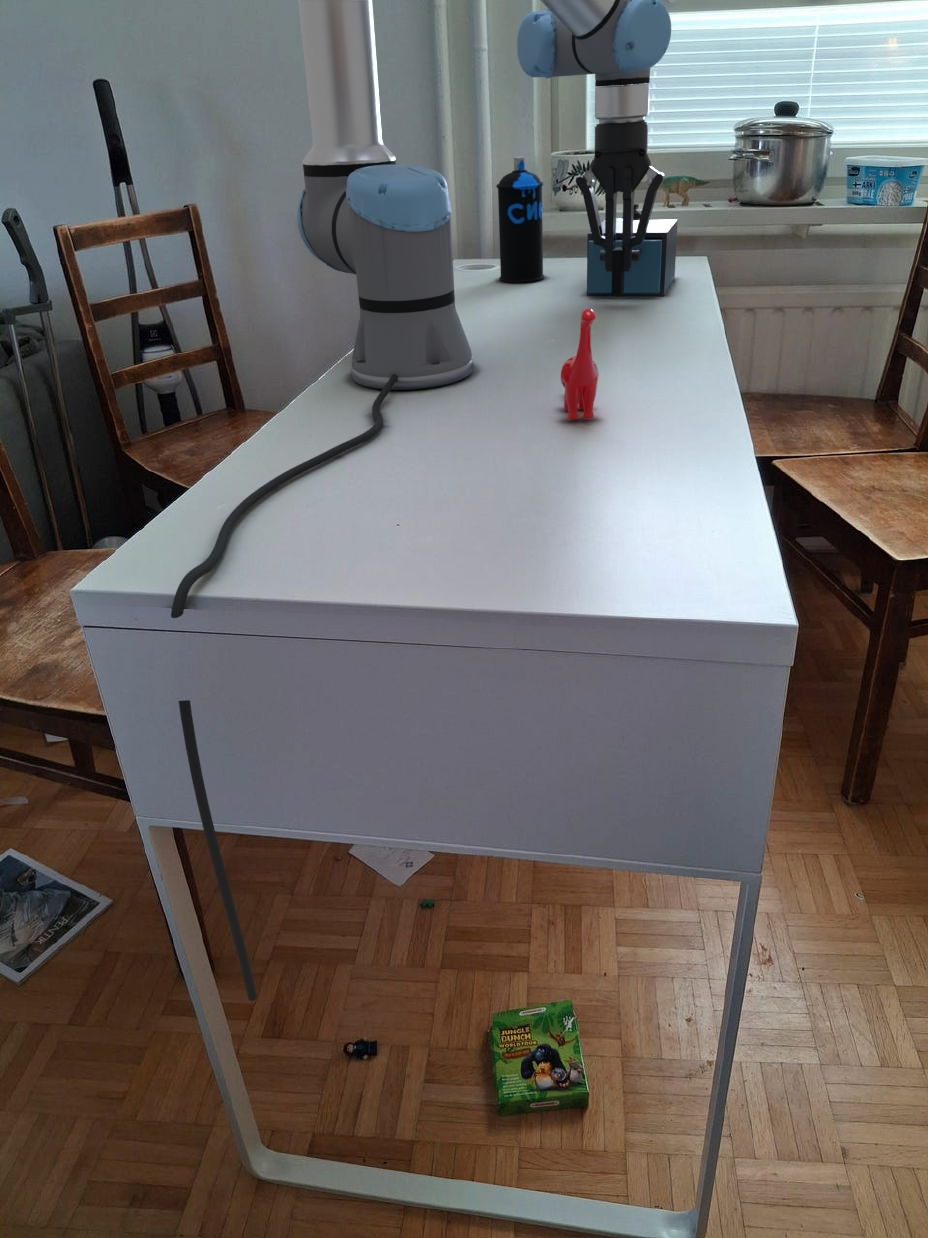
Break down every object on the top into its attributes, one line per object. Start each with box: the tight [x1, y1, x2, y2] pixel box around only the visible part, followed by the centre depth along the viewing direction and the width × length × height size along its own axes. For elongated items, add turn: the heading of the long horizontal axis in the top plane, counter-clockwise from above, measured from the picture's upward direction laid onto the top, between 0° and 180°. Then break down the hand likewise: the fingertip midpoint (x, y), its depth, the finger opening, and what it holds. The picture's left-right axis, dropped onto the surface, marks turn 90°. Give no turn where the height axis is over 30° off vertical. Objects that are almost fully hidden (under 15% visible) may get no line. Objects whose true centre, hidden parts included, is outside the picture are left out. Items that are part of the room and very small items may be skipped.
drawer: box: [588, 238, 662, 293], centre depth 151 cm, size 18×11×8 cm, turn 163°
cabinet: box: [586, 218, 679, 297], centre depth 156 cm, size 15×13×10 cm
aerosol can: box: [495, 156, 545, 284], centre depth 165 cm, size 8×8×20 cm
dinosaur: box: [560, 308, 599, 421], centre depth 96 cm, size 4×15×12 cm, turn 1°
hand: (617, 293), depth 144 cm, fingers closed
